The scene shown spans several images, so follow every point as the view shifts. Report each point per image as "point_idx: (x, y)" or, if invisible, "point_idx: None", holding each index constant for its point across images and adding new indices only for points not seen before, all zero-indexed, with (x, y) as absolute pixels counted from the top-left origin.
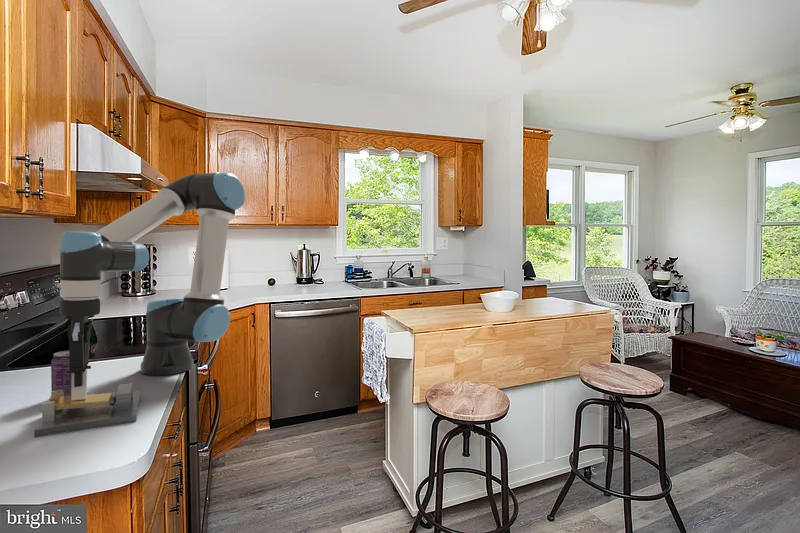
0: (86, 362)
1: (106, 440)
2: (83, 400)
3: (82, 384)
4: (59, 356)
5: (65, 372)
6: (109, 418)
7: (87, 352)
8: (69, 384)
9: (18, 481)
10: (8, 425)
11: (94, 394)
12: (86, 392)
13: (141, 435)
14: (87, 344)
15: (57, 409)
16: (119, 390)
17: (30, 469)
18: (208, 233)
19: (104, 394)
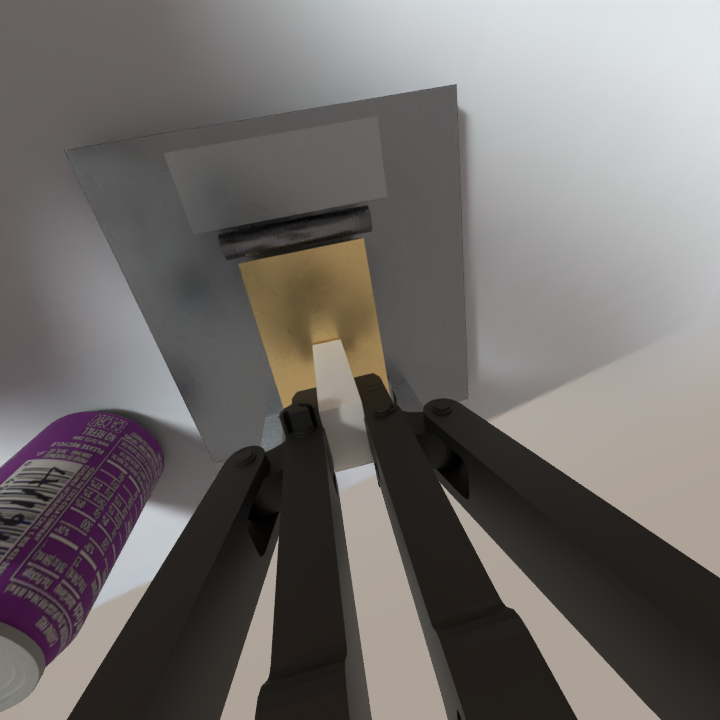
0: (321, 448)
1: (577, 170)
2: (347, 343)
3: (356, 378)
4: (43, 666)
5: (104, 540)
6: (454, 201)
7: (235, 525)
8: (126, 479)
9: (696, 306)
10: (347, 483)
11: (263, 331)
12: (325, 351)
13: (598, 35)
14: (195, 618)
15: None
16: (315, 198)
17: (652, 308)
18: None
19: (265, 287)
